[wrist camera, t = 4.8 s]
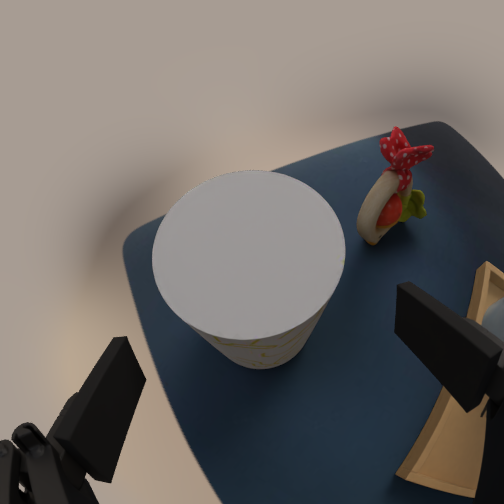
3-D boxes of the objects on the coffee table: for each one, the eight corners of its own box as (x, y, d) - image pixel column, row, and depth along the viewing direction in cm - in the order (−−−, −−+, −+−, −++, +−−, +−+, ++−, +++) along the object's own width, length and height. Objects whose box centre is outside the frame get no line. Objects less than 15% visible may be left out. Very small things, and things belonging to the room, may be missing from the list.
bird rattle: (387, 270, 25) (433, 204, 24) (405, 245, 15) (463, 149, 14) (341, 232, 28) (388, 171, 27) (329, 188, 18) (394, 106, 17)
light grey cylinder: (243, 388, 19) (206, 381, 9) (194, 304, 23) (130, 222, 12) (330, 331, 21) (383, 263, 10) (274, 257, 24) (272, 149, 14)
